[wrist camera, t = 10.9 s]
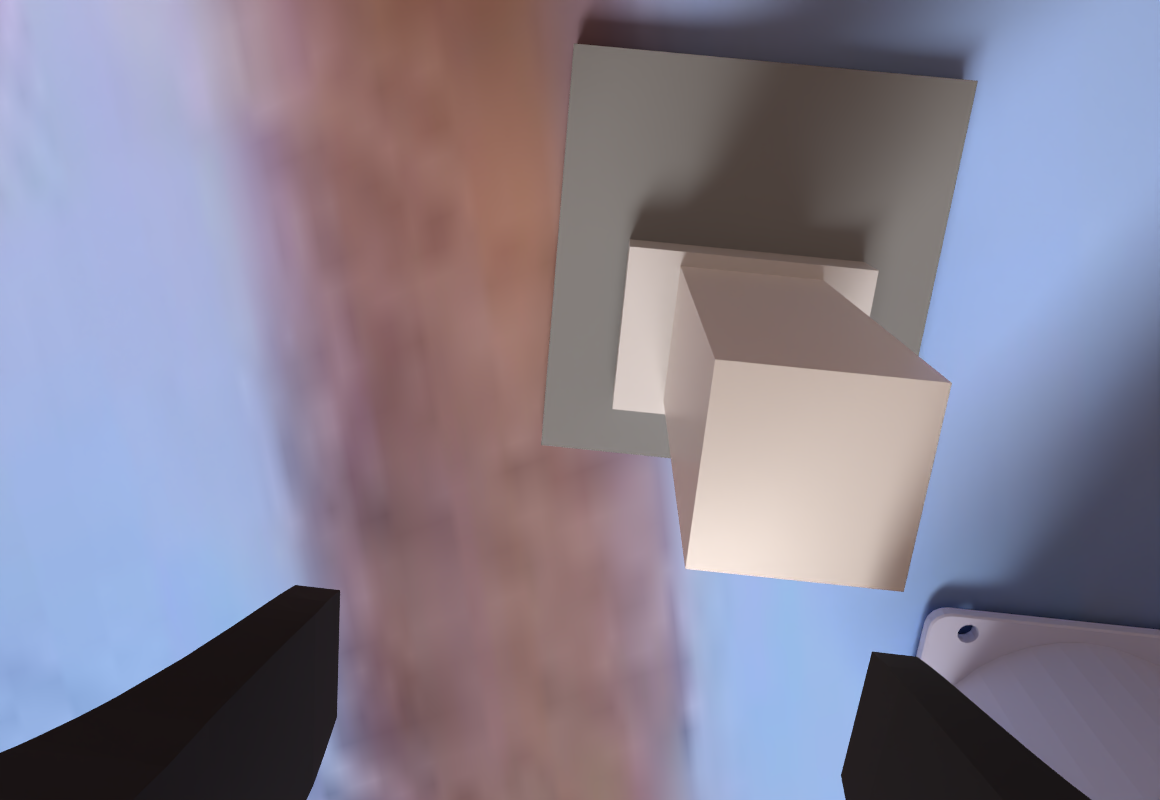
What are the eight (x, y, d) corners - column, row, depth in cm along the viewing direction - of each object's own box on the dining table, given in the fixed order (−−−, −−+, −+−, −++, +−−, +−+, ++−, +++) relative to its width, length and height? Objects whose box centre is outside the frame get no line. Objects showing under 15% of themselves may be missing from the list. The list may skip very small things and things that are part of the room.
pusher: (864, 262, 19) (1045, 368, 11) (834, 415, 20) (979, 619, 12) (629, 238, 19) (631, 328, 11) (613, 393, 21) (603, 579, 12)
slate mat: (963, 82, 19) (977, 81, 18) (881, 468, 22) (891, 480, 21) (575, 46, 19) (574, 43, 18) (544, 433, 22) (541, 444, 21)
